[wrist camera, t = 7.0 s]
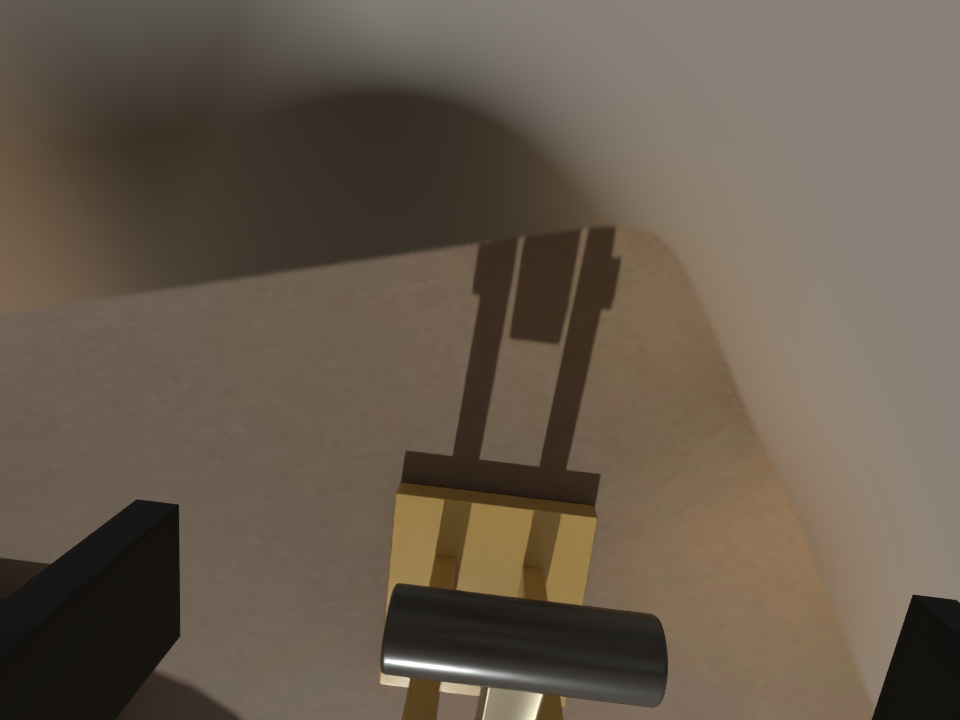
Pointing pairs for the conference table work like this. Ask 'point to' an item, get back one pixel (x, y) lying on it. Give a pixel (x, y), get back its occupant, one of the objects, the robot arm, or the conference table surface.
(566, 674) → the switch lever
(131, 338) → the conference table surface
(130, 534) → the robot arm
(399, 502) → the switch bracket
